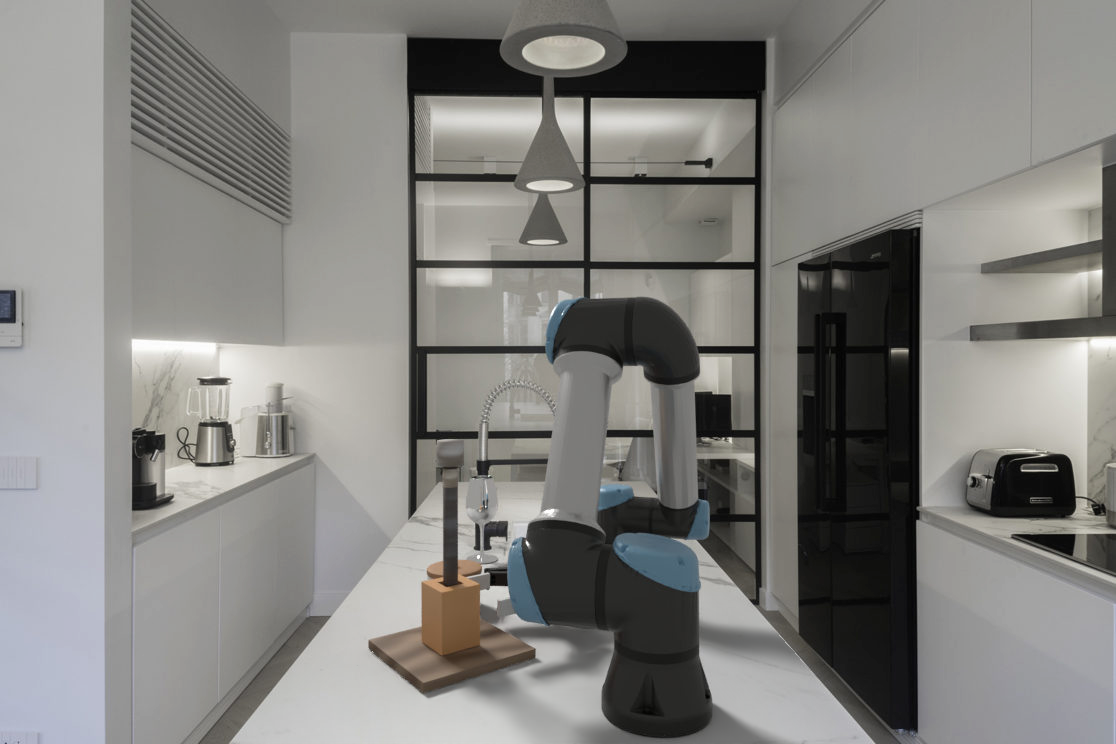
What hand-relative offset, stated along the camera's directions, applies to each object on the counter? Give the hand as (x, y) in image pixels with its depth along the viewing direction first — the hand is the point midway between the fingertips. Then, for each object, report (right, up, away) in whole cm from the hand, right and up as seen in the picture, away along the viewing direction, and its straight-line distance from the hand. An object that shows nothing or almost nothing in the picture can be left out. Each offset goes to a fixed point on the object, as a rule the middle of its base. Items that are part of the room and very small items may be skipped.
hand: (476, 597), depth 120 cm
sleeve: (-4, -6, -4) cm, 8 cm away
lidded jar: (-6, -8, +19) cm, 21 cm away
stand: (-4, -8, -4) cm, 10 cm away
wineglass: (-5, -7, +51) cm, 52 cm away
